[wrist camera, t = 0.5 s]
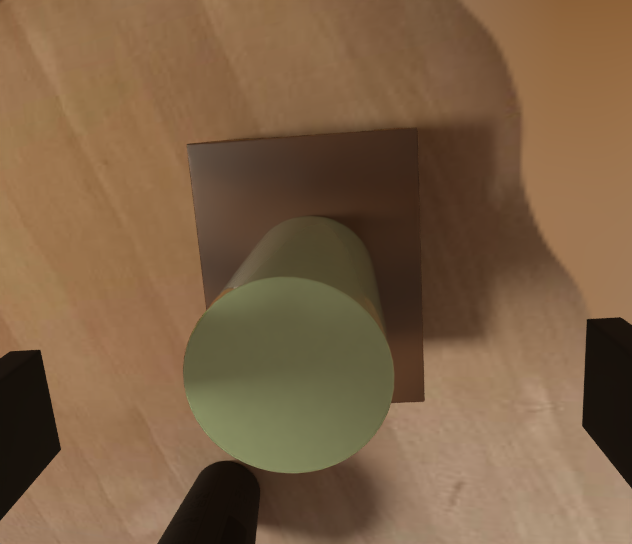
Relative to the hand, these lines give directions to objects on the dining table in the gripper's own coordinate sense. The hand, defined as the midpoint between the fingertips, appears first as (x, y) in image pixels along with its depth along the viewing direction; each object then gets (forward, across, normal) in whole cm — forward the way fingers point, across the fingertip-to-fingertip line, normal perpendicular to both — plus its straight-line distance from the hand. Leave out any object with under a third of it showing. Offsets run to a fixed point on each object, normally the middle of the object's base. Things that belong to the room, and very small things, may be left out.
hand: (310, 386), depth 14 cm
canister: (+15, -1, -1) cm, 15 cm away
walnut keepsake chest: (+24, -1, -2) cm, 24 cm away
